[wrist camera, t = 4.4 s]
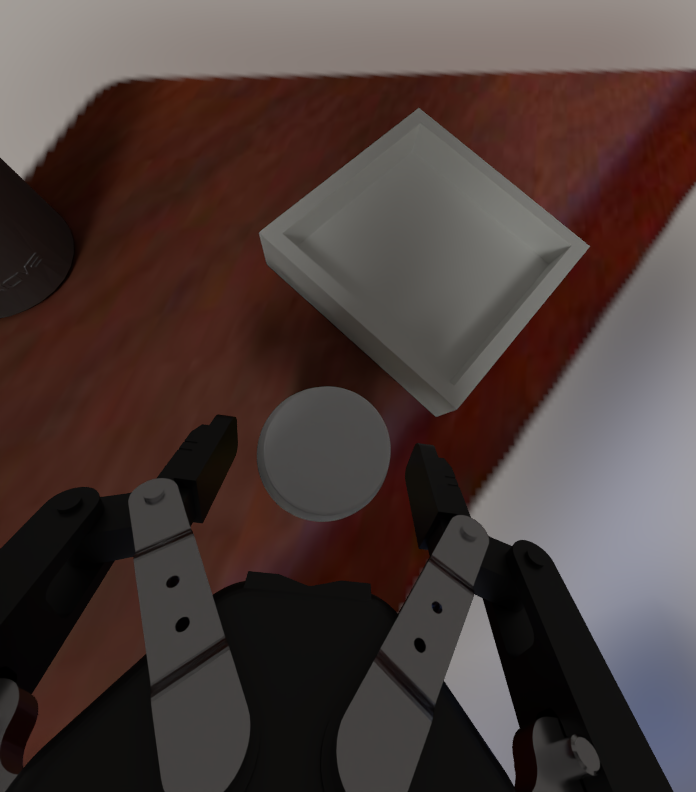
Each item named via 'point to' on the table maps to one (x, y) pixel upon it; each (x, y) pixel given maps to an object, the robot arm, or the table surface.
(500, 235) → the tray
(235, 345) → the table surface
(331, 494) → the supplement bottle
